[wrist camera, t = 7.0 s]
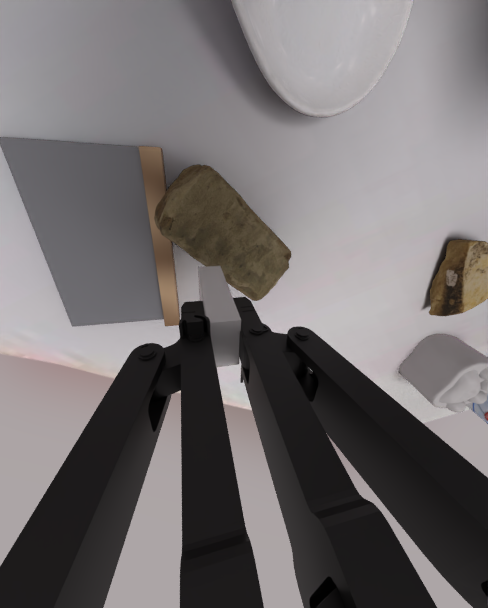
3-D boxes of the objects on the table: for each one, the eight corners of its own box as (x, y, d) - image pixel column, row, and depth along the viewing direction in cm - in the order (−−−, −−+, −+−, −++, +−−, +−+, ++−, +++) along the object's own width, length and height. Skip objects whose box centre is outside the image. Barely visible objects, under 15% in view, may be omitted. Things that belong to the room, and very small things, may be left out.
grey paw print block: (429, 330, 40) (484, 368, 32) (472, 340, 44) (529, 375, 37) (391, 374, 44) (433, 416, 37) (434, 379, 49) (479, 417, 41)
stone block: (242, 284, 26) (260, 308, 22) (146, 215, 19) (147, 230, 15) (278, 243, 25) (303, 259, 21) (188, 154, 18) (201, 153, 14)
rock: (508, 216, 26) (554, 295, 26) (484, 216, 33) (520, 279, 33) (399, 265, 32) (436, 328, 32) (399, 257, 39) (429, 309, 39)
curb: (142, 147, 19) (138, 145, 17) (162, 148, 19) (160, 147, 17) (166, 315, 27) (165, 326, 25) (179, 314, 27) (179, 325, 25)
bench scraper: (2, 137, 17) (-3, 136, 16) (139, 147, 18) (138, 146, 18) (74, 323, 25) (72, 326, 24) (164, 316, 27) (163, 318, 26)
